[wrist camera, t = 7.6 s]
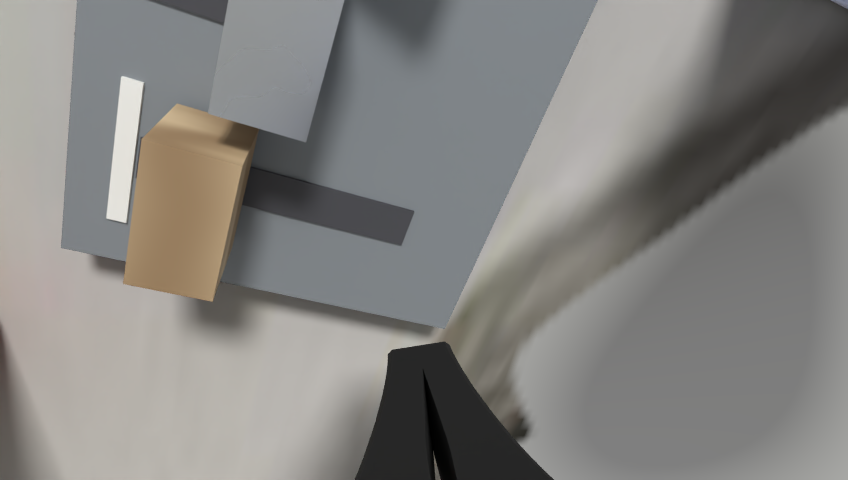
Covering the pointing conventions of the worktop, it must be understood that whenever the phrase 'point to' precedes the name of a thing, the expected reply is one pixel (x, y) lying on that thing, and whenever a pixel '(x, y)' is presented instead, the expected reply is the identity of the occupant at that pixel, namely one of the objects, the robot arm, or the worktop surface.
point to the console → (332, 141)
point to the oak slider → (187, 202)
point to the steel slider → (274, 63)
